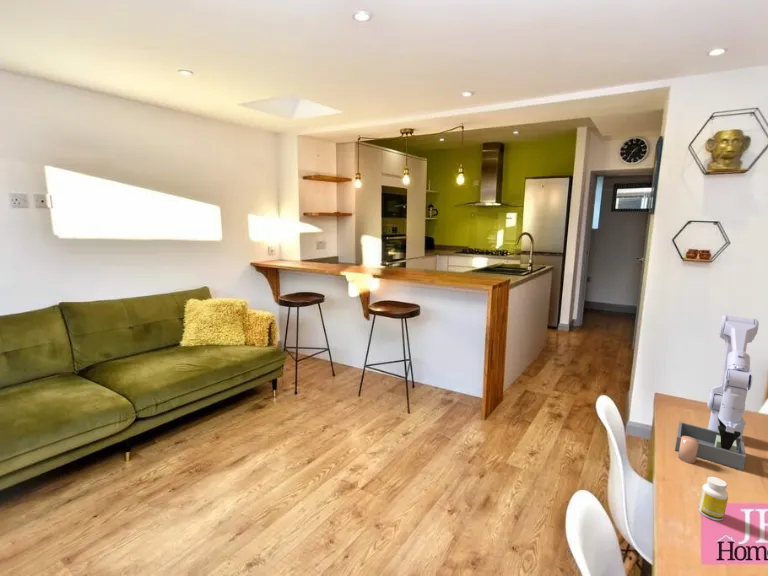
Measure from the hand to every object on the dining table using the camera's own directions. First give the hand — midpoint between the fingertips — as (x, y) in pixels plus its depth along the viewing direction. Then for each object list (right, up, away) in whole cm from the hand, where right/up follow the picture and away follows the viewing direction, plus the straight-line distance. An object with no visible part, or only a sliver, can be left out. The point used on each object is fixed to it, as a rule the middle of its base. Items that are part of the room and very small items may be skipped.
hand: (724, 443), depth 136 cm
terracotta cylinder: (-14, -4, -2) cm, 15 cm away
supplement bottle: (-26, -9, -27) cm, 38 cm away
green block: (0, -4, 0) cm, 4 cm away
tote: (-3, -4, +3) cm, 6 cm away
